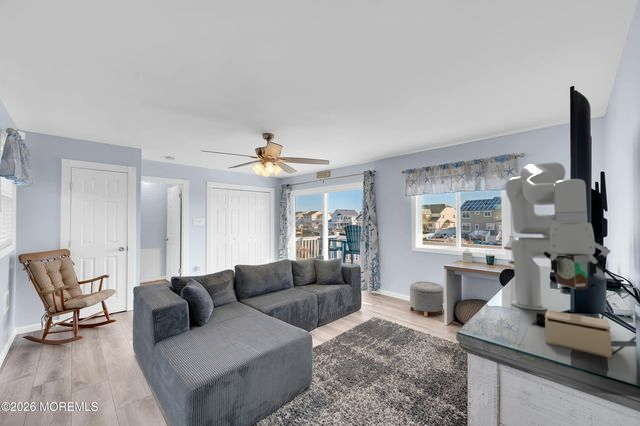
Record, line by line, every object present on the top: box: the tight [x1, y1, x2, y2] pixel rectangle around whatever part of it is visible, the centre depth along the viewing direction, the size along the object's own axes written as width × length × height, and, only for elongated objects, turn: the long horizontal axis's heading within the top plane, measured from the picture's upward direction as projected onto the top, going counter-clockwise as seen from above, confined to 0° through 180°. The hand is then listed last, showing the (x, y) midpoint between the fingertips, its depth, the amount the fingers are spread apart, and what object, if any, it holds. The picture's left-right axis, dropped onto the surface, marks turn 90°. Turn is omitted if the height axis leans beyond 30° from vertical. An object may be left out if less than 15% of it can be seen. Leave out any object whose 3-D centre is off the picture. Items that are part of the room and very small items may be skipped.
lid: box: [545, 309, 611, 330], centre depth 83 cm, size 11×14×1 cm
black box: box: [530, 310, 547, 329], centre depth 101 cm, size 12×7×5 cm, turn 127°
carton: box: [544, 318, 613, 359], centre depth 83 cm, size 11×14×7 cm
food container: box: [552, 253, 591, 290], centre depth 84 cm, size 12×6×10 cm, turn 165°
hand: (573, 274), depth 84 cm, fingers closed on food container, 7 cm apart
